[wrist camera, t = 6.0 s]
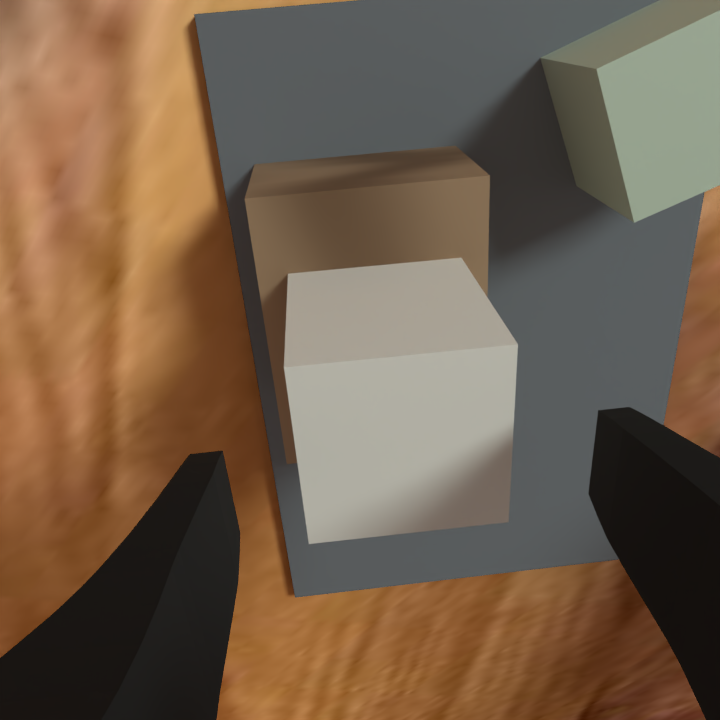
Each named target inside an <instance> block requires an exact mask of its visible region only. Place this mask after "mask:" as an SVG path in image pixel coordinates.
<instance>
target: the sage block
mask: <svg viewBox="0 0 720 720" xmlns="http://www.w3.org/2000/svg"><path fill="white" fill-rule="evenodd" d="M540 59H541V62H542V66H543V69H544V73H545V76H546V80H547V83H548V87H549V90H550V94H551V98H552V101H553V105H554V108H555V112H556V115H557V119H558V122H559V126H560V129H561V133H562V136H563V140H564V143H565V147H566V151H567V154H568V158H569V161H570V165H571V168H572V172H573V175H574V179H575V182H576V186H577V187H579V188H580V189H582V190H584V191H585V192H587V193H588V194H590V195H591V196H593V197H595V198H596V199H598V200H599V201H601V202H602V203H604V204H606V205H607V206H609V207H610V208H612V209H613V210H615V211H617V212H618V213H620V214H621V215H623V216H624V217H626V218H628V219H629V220H631V221H632V222H634V223H635V222H637V221H639V220H642V219H644V218H646V217H648V216H651V215H653V214H655V213H657V212H660V211H662V210H664V209H667V208H669V207H671V206H673V205H676V204H678V203H680V202H682V201H685V200H687V199H689V198H691V197H694V196H696V195H698V194H701V193H703V192H705V191H707V190H710V189H712V188H714V187H716V186H719V185H720V0H659V1H656V2H654V3H652V4H650V5H648V6H646V7H644V8H642V9H640V10H638V11H636V12H634V13H632V14H630V15H628V16H626V17H623V18H621V19H619V20H617V21H615V22H613V23H611V24H609V25H607V26H605V27H603V28H601V29H599V30H597V31H595V32H592V33H590V34H588V35H586V36H584V37H582V38H580V39H578V40H576V41H574V42H572V43H570V44H568V45H566V46H564V47H561V48H559V49H557V50H555V51H553V52H551V53H549V54H547V55H545V56H543V57H541V58H540Z"/></svg>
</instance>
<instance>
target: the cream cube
mask: <svg viewBox="0 0 720 720" xmlns="http://www.w3.org/2000/svg"><path fill="white" fill-rule="evenodd" d="M517 354H518V344H517V342H516V340H515V339H514V337H513V336H512V334H511V333H510V331H509V330H508V328H507V327H506V325H505V324H504V322H503V321H502V319H501V318H500V316H499V314H498V313H497V311H496V310H495V308H494V307H493V305H492V304H491V302H490V301H489V299H488V298H487V296H486V295H485V293H484V291H483V290H482V288H481V287H480V285H479V284H478V282H477V281H476V279H475V278H474V276H473V275H472V273H471V272H470V270H469V269H468V267H467V265H466V264H465V262H464V261H463V259H462V258H452V259H441V260H430V261H420V262H409V263H398V264H387V265H377V266H366V267H355V268H345V269H334V270H323V271H312V272H302V273H291V274H288V285H287V307H286V330H285V353H284V372H285V379H286V386H287V393H288V400H289V407H290V414H291V421H292V428H293V436H294V443H295V450H296V457H297V464H298V471H299V478H300V485H301V492H302V499H303V506H304V513H305V520H306V528H307V535H308V542H309V544H314V543H323V542H332V541H342V540H351V539H360V538H369V537H378V536H387V535H396V534H405V533H415V532H424V531H433V530H442V529H451V528H460V527H469V526H478V525H488V524H497V523H506V522H509V505H510V486H511V467H512V448H513V429H514V410H515V392H516V373H517Z"/></svg>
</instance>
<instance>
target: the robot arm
mask: <svg viewBox="0 0 720 720" xmlns="http://www.w3.org/2000/svg"><path fill="white" fill-rule="evenodd" d="M588 494H589V497H590V499H591V502H592V504H593V507H594V509H595V512H596V514H597V517H598V519H599V521H600V524H601V526H602V528H603V530H604V533H605V535H606V537H607V539H608V541H609V543H610V545H611V546H612V548H613V550H614V552H615V553H616V555H617V557H618V558H619V560H620V562H621V564H622V565H623V567H624V569H625V570H626V572H627V574H628V575H629V577H630V579H631V580H632V582H633V584H634V585H635V587H636V589H637V590H638V592H639V594H640V595H641V597H642V599H643V600H644V602H645V604H646V605H647V607H648V609H649V610H650V612H651V614H652V615H653V617H654V619H655V620H656V622H657V624H658V626H659V627H660V629H661V631H662V632H663V634H664V636H665V637H666V639H667V641H668V642H669V644H670V646H671V648H672V650H673V652H674V653H675V655H676V657H677V659H678V661H679V663H680V665H681V667H682V669H683V671H684V673H685V675H686V677H687V680H688V682H689V684H690V686H691V688H692V690H693V692H694V695H695V697H696V699H697V701H698V703H699V705H700V707H701V709H702V712H703V714H704V716H705V718H706V720H720V458H719V457H717V456H715V455H714V454H712V453H710V452H708V451H706V450H705V449H703V448H701V447H700V446H698V445H696V444H694V443H693V442H691V441H689V440H687V439H686V438H684V437H682V436H681V435H679V434H677V433H676V432H674V431H672V430H670V429H669V428H667V427H665V426H664V425H662V424H660V423H658V422H657V421H655V420H653V419H651V418H650V417H648V416H646V415H644V414H642V413H640V412H639V411H637V410H635V409H633V408H631V407H624V408H615V409H605V410H598V416H597V424H596V433H595V441H594V450H593V458H592V467H591V475H590V484H589V492H588ZM239 553H240V530H239V525H238V521H237V516H236V511H235V507H234V502H233V497H232V493H231V488H230V483H229V479H228V474H227V469H226V465H225V460H224V455H223V451H216V452H207V453H198V454H190V455H189V456H188V457H187V459H186V460H185V461H184V462H183V464H182V465H181V466H180V468H179V469H178V471H177V472H176V473H175V475H174V476H173V477H172V479H171V480H170V482H169V483H168V484H167V486H166V487H165V488H164V490H163V491H162V493H161V494H160V495H159V497H158V498H157V499H156V501H155V502H154V503H153V505H152V506H151V507H150V508H149V510H148V511H147V512H146V513H145V515H144V516H143V517H142V519H141V520H140V521H139V522H138V524H137V525H136V526H135V527H134V529H133V530H132V531H131V532H130V534H129V535H128V536H127V537H126V538H125V540H124V541H123V542H122V543H121V544H120V545H119V546H118V548H117V549H116V550H115V551H114V552H113V553H112V554H111V556H110V557H109V558H108V559H107V560H106V561H105V562H104V564H103V565H102V566H101V567H100V568H99V569H98V570H97V571H96V572H95V573H94V574H93V576H92V577H91V578H90V579H89V580H88V581H87V582H86V583H85V584H84V585H83V586H82V587H81V588H80V589H79V590H78V591H77V592H76V593H75V594H74V595H73V596H71V597H70V598H69V599H68V600H67V601H66V602H65V603H64V604H63V605H62V606H61V607H60V608H59V609H58V610H57V611H56V612H54V613H53V614H52V615H51V616H50V617H49V618H48V619H46V620H45V621H44V622H43V623H42V624H40V625H39V626H38V627H37V628H36V629H35V630H33V631H32V632H31V633H30V634H29V635H27V636H26V637H25V638H24V639H23V640H21V641H20V642H19V643H18V644H17V645H16V646H14V647H13V648H12V649H11V650H10V651H8V652H7V653H6V654H5V655H3V656H2V657H1V658H0V720H216V719H217V711H218V703H219V695H220V688H221V683H222V677H223V671H224V665H225V659H226V653H227V647H228V641H229V635H230V629H231V623H232V617H233V611H234V605H235V599H236V593H237V586H238V575H239Z"/></svg>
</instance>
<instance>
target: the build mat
mask: <svg viewBox="0 0 720 720" xmlns="http://www.w3.org/2000/svg"><path fill="white" fill-rule="evenodd" d="M656 1H659V0H358V1H346V2H334V3H322V4H310V5H299V6H287V7H275V8H263V9H251V10H240V11H228V12H216V13H204V14H194V16H195V21H196V27H197V33H198V39H199V45H200V50H201V56H202V62H203V68H204V73H205V79H206V85H207V91H208V97H209V102H210V108H211V114H212V120H213V125H214V131H215V137H216V143H217V149H218V154H219V160H220V166H221V172H222V177H223V183H224V189H225V195H226V201H227V206H228V212H229V218H230V224H231V230H232V235H233V241H234V247H235V253H236V258H237V264H238V270H239V276H240V282H241V287H242V293H243V299H244V305H245V310H246V316H247V322H248V328H249V334H250V339H251V345H252V351H253V357H254V362H255V368H256V374H257V380H258V386H259V391H260V397H261V403H262V409H263V414H264V420H265V426H266V432H267V438H268V443H269V449H270V455H271V461H272V467H273V472H274V478H275V484H276V490H277V495H278V501H279V507H280V513H281V519H282V524H283V530H284V536H285V542H286V547H287V553H288V559H289V565H290V571H291V576H292V582H293V588H294V594H295V597H303V596H311V595H320V594H328V593H337V592H345V591H354V590H362V589H371V588H379V587H388V586H396V585H405V584H413V583H422V582H430V581H439V580H447V579H456V578H464V577H473V576H481V575H490V574H498V573H507V572H515V571H524V570H532V569H541V568H549V567H558V566H566V565H575V564H584V563H592V562H601V561H609V560H618V559H619V558H618V557H617V555H616V553H615V552H614V550H613V548H612V546H611V545H610V543H609V541H608V539H607V537H606V535H605V533H604V530H603V528H602V526H601V524H600V521H599V519H598V517H597V514H596V512H595V509H594V507H593V504H592V502H591V499H590V497H589V494H588V492H589V484H590V475H591V467H592V458H593V450H594V441H595V433H596V424H597V416H598V410H605V409H615V408H624V407H631V408H633V409H635V410H637V411H639V412H640V413H642V414H644V415H646V416H648V417H650V418H651V419H653V420H655V421H657V422H658V423H660V424H662V425H663V424H664V418H665V413H666V407H667V401H668V396H669V390H670V384H671V378H672V373H673V367H674V361H675V356H676V350H677V344H678V339H679V333H680V327H681V322H682V316H683V310H684V305H685V299H686V293H687V288H688V282H689V276H690V271H691V265H692V259H693V254H694V248H695V242H696V237H697V231H698V225H699V220H700V214H701V208H702V203H703V197H704V192H703V193H701V194H698V195H696V196H694V197H691V198H689V199H687V200H685V201H682V202H680V203H678V204H676V205H673V206H671V207H669V208H667V209H664V210H662V211H660V212H657V213H655V214H653V215H651V216H648V217H646V218H644V219H642V220H639V221H637V222H635V223H634V222H632V221H631V220H629V219H628V218H626V217H624V216H623V215H621V214H620V213H618V212H617V211H615V210H613V209H612V208H610V207H609V206H607V205H606V204H604V203H602V202H601V201H599V200H598V199H596V198H595V197H593V196H591V195H590V194H588V193H587V192H585V191H584V190H582V189H580V188H579V187H577V186H576V182H575V179H574V175H573V172H572V168H571V165H570V161H569V158H568V154H567V151H566V147H565V143H564V140H563V136H562V133H561V129H560V126H559V122H558V119H557V115H556V112H555V108H554V105H553V101H552V98H551V94H550V90H549V87H548V83H547V80H546V76H545V73H544V69H543V66H542V62H541V59H540V58H541V57H543V56H545V55H547V54H549V53H551V52H553V51H555V50H557V49H559V48H561V47H564V46H566V45H568V44H570V43H572V42H574V41H576V40H578V39H580V38H582V37H584V36H586V35H588V34H590V33H592V32H595V31H597V30H599V29H601V28H603V27H605V26H607V25H609V24H611V23H613V22H615V21H617V20H619V19H621V18H623V17H626V16H628V15H630V14H632V13H634V12H636V11H638V10H640V9H642V8H644V7H646V6H648V5H650V4H652V3H654V2H656ZM446 146H457V147H458V148H459V149H460V150H461V151H462V152H464V153H465V154H466V155H467V156H468V157H469V158H470V159H472V160H473V161H474V162H475V163H476V164H477V165H478V166H480V167H481V168H482V169H483V170H484V171H485V172H487V173H488V174H489V175H490V196H489V245H488V295H487V298H488V299H489V301H490V302H491V304H492V305H493V307H494V308H495V310H496V311H497V313H498V314H499V316H500V318H501V319H502V321H503V322H504V324H505V325H506V327H507V328H508V330H509V331H510V333H511V334H512V336H513V337H514V339H515V340H516V342H517V344H518V354H517V373H516V392H515V410H514V429H513V448H512V467H511V486H510V505H509V522H506V523H497V524H488V525H478V526H469V527H460V528H451V529H442V530H433V531H424V532H415V533H405V534H396V535H387V536H378V537H369V538H360V539H351V540H342V541H332V542H323V543H314V544H309V542H308V535H307V528H306V520H305V513H304V506H303V499H302V492H301V485H300V478H299V471H298V464H297V463H292V464H287V462H286V456H285V449H284V443H283V437H282V431H281V424H280V418H279V412H278V405H277V399H276V393H275V387H274V380H273V374H272V368H271V361H270V355H269V349H268V343H267V336H266V330H265V324H264V317H263V311H262V305H261V299H260V292H259V286H258V280H257V273H256V267H255V261H254V255H253V248H252V242H251V236H250V229H249V223H248V217H247V211H246V204H245V196H246V192H247V189H248V185H249V182H250V178H251V175H252V172H253V168H254V165H255V164H263V163H274V162H285V161H295V160H306V159H317V158H328V157H339V156H349V155H360V154H371V153H382V152H392V151H403V150H414V149H425V148H435V147H446Z"/></svg>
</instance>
